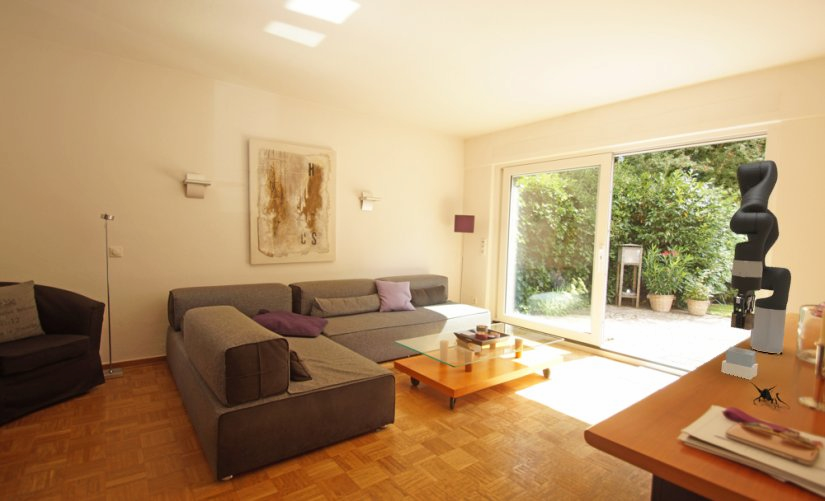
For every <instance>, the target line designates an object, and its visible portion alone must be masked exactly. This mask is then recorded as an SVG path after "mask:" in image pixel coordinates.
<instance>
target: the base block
mask: <svg viewBox="0 0 825 501" xmlns="http://www.w3.org/2000/svg"><path fill="white" fill-rule="evenodd" d="M758 365H759V364H758V363H756V362H755V364H754V365H753V366H752V368H749V367H745V366H740V365H736V364H731V363H727V362H726V359H724V360H722V361H721V370H720V373H721V372H723V373H722V374H725V373H726V375H729V374H730V375H729V376H733V375H734V377H737V376H738V378H741V377H742V378H741V379H744V378H745V379H746V380H748V379H749V381H751V380H752V379H753V377H754V378H755V377H757V376H758Z"/></svg>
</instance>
